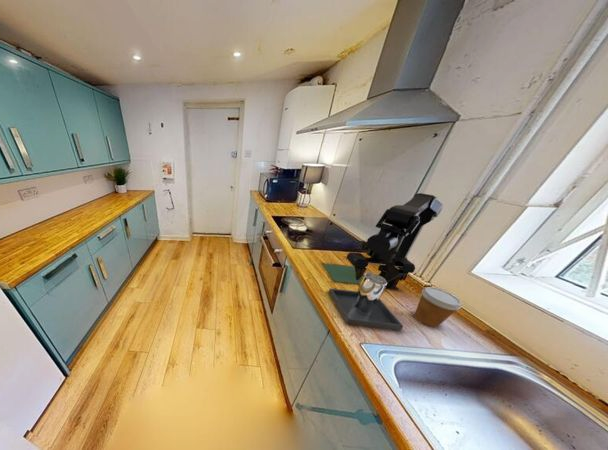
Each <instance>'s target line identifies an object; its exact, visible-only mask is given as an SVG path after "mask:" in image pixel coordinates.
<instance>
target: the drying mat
mask: <svg viewBox="0 0 608 450" xmlns="http://www.w3.org/2000/svg"><path fill="white" fill-rule="evenodd" d="M322 265H323V267H324V268H325V270H326V271H327V273H328V274H329V276H330V278H331V279H332V281H333V282H334V283H344V284H353V285H359V284H360V282H361V280H362V278H363V276H364V274H363V275H362V277H361V278H360V279H359V280H356V276H355V267H354V266H353V265H342V264H332V263H322Z"/></svg>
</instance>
